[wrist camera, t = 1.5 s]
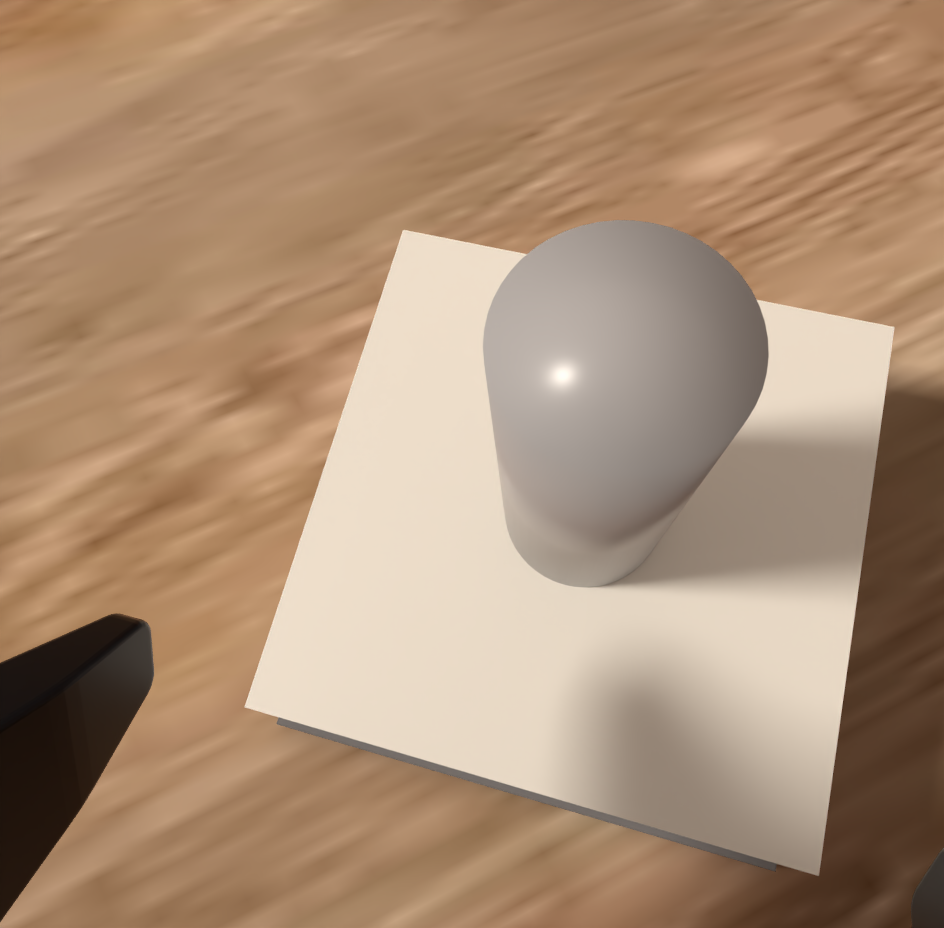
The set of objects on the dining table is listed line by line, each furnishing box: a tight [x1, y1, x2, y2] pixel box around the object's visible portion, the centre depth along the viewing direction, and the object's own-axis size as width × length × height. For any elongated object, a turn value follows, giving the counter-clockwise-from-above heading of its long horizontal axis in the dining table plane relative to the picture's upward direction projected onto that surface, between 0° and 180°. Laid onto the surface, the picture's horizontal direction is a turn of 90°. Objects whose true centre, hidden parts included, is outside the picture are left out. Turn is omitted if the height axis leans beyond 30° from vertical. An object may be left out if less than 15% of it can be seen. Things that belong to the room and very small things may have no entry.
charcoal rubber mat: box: [277, 717, 777, 872], centre depth 21 cm, size 12×12×1 cm
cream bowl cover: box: [245, 220, 894, 876], centre depth 15 cm, size 11×11×12 cm
